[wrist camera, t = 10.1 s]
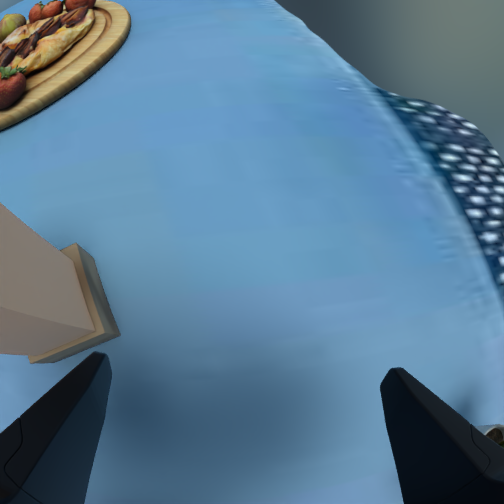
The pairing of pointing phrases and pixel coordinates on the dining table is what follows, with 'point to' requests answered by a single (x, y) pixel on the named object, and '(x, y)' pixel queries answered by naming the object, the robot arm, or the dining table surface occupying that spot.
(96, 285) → the walnut block
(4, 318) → the peach block
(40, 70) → the wooden plate with food
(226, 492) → the dining table surface
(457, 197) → the dining table surface
